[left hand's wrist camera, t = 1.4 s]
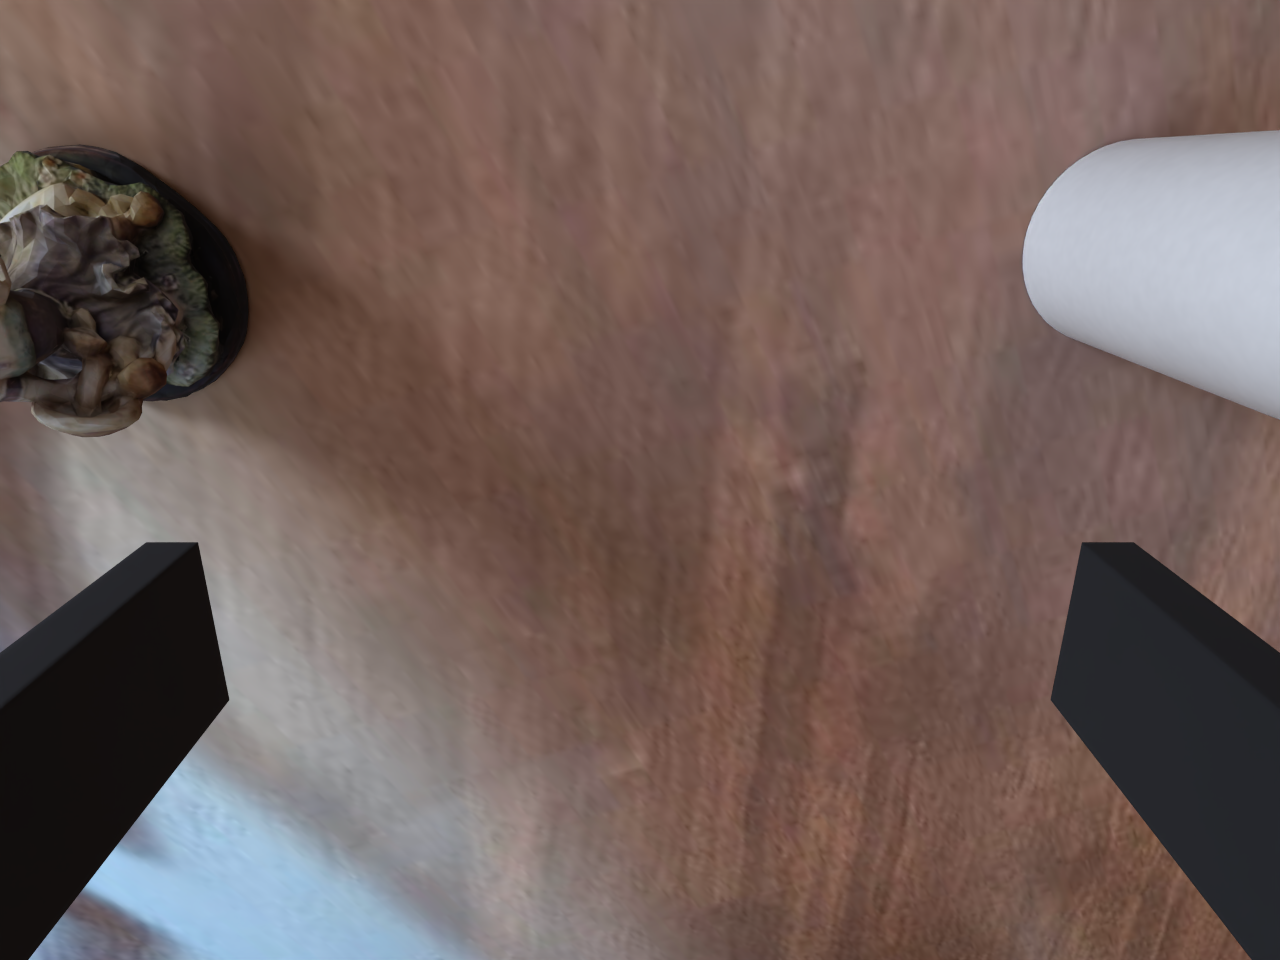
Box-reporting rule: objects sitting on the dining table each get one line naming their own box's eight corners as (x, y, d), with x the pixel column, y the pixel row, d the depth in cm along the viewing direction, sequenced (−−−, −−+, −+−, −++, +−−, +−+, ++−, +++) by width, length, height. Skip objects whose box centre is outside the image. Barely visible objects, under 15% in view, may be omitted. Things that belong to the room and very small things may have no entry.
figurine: (291, 345, 39) (97, 443, 25) (102, 438, 41) (-180, 579, 27) (137, 93, 36) (-192, 43, 22) (-65, 206, 37) (-493, 228, 23)
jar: (1143, 374, 40) (1527, 531, 23) (983, 295, 39) (1261, 396, 21) (1266, 194, 37) (1810, 215, 20) (1098, 101, 36) (1525, 38, 19)
